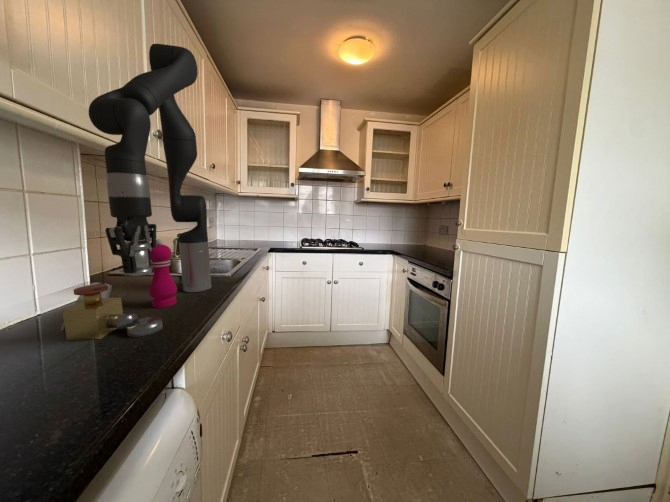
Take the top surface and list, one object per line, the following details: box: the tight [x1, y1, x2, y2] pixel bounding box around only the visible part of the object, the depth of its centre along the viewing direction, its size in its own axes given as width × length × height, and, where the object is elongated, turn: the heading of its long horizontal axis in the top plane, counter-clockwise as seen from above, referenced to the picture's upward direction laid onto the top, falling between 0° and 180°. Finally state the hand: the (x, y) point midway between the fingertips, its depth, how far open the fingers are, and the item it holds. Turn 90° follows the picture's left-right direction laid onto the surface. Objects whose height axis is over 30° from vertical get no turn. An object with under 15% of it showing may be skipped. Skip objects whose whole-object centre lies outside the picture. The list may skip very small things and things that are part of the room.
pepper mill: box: [148, 238, 178, 309], centre depth 82 cm, size 7×7×20 cm
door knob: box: [124, 243, 153, 277], centre depth 63 cm, size 5×5×7 cm
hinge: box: [59, 282, 113, 332], centre depth 74 cm, size 17×5×10 cm, turn 26°
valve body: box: [61, 283, 163, 341], centre depth 65 cm, size 8×18×11 cm, turn 94°
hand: (138, 269), depth 64 cm, fingers closed on door knob, 5 cm apart
